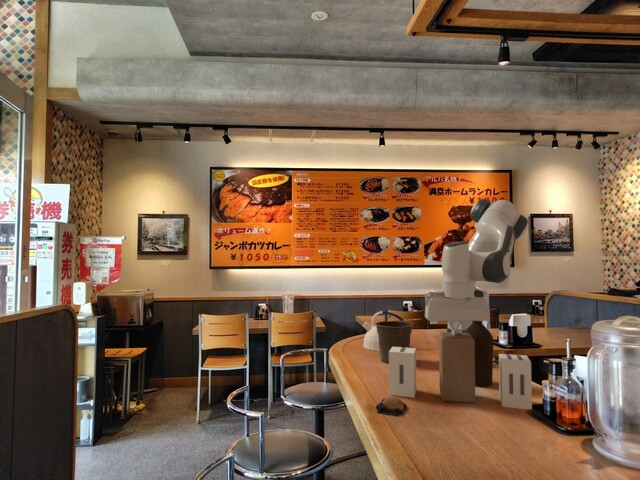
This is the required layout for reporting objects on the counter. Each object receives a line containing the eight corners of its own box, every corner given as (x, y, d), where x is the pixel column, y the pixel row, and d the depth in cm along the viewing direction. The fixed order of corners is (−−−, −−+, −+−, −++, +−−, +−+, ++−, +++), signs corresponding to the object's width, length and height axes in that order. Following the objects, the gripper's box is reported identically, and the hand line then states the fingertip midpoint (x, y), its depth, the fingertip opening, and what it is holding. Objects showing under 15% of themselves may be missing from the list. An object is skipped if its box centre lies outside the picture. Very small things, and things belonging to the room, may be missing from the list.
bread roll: (381, 403, 128) (381, 391, 128) (408, 406, 125) (408, 394, 125) (372, 415, 118) (372, 402, 118) (402, 419, 115) (402, 405, 115)
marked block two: (499, 398, 131) (498, 353, 132) (527, 400, 129) (526, 354, 129) (502, 406, 123) (501, 359, 124) (532, 409, 121) (531, 361, 122)
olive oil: (479, 389, 140) (477, 315, 141) (456, 381, 149) (455, 311, 151) (501, 385, 145) (499, 313, 146) (477, 377, 154) (476, 310, 155)
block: (475, 404, 125) (474, 338, 126) (441, 402, 128) (441, 337, 128) (471, 393, 135) (470, 332, 136) (439, 391, 137) (438, 331, 138)
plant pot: (388, 367, 168) (388, 327, 169) (368, 358, 183) (368, 322, 184) (421, 363, 175) (420, 325, 176) (399, 355, 190) (399, 319, 190)
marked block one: (392, 387, 142) (392, 346, 142) (416, 390, 139) (416, 347, 140) (389, 395, 134) (388, 351, 134) (414, 397, 131) (413, 352, 132)
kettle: (363, 342, 219) (363, 308, 220) (402, 343, 216) (402, 309, 217) (361, 350, 199) (361, 313, 200) (405, 352, 196) (405, 314, 197)
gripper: (427, 292, 129) (428, 337, 128) (491, 292, 130) (492, 336, 129) (422, 291, 135) (422, 333, 135) (482, 291, 136) (483, 333, 136)
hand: (457, 335), depth 132 cm, fingers closed, pressing on block
